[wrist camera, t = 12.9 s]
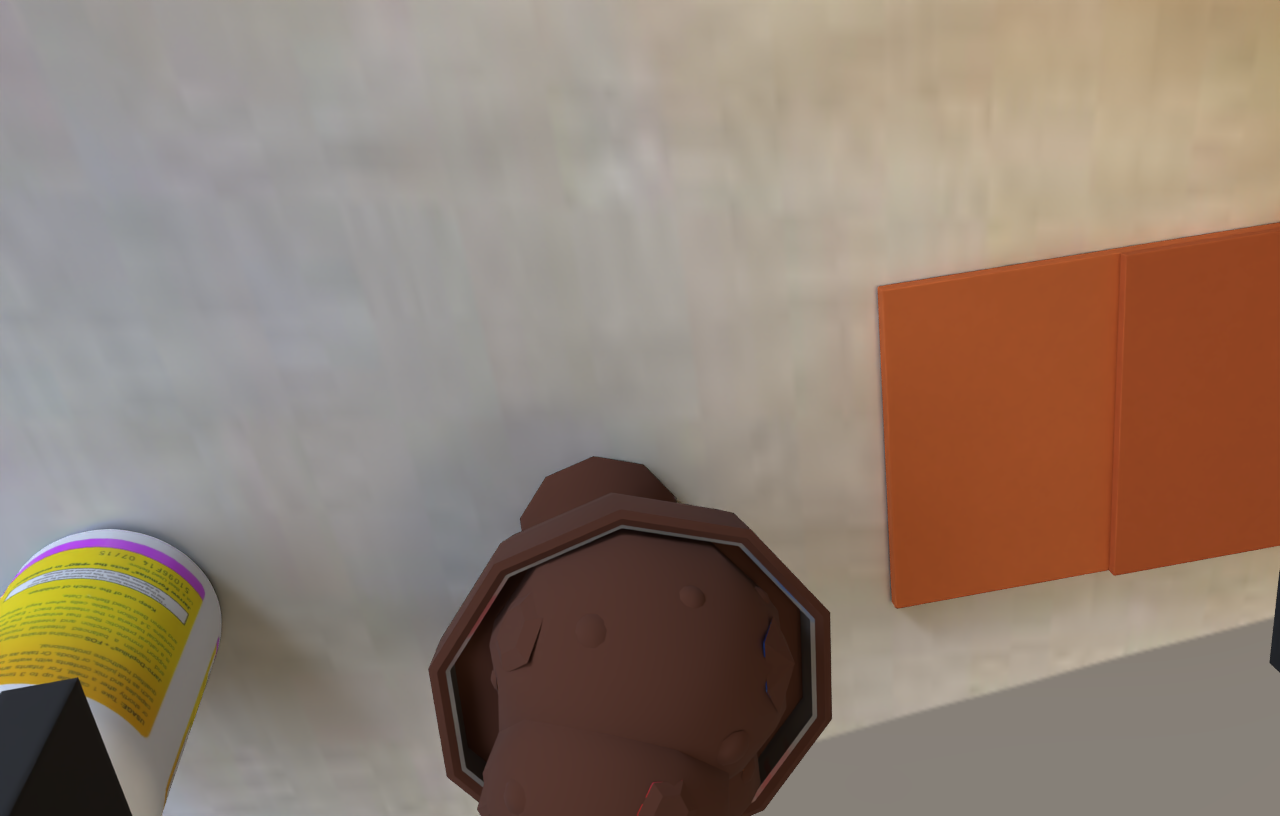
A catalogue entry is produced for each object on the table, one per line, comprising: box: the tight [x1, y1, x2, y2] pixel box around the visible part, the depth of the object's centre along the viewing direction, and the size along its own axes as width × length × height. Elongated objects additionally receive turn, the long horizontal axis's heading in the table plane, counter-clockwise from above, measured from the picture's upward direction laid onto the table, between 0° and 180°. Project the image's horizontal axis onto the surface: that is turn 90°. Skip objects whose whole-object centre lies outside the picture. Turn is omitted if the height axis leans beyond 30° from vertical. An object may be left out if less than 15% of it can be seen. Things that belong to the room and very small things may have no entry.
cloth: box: [878, 223, 1280, 609], centre depth 41 cm, size 12×16×1 cm
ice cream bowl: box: [428, 456, 832, 816], centre depth 33 cm, size 11×11×15 cm
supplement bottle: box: [0, 529, 222, 816], centre depth 33 cm, size 7×7×13 cm
